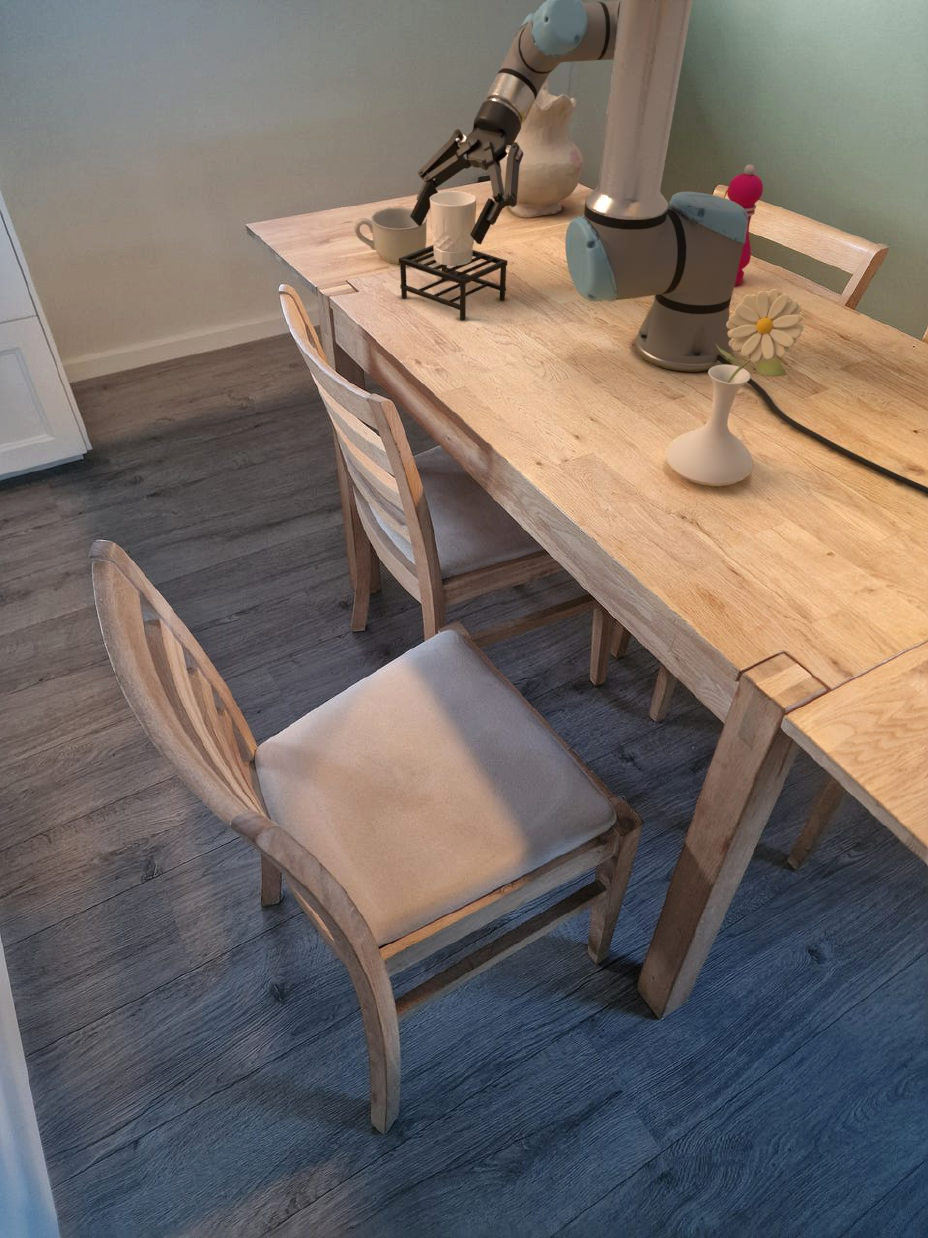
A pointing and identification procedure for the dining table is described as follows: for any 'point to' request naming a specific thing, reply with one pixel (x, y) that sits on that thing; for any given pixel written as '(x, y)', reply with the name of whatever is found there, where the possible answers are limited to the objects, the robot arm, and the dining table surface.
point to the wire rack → (453, 277)
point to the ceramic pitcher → (546, 156)
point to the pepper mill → (745, 207)
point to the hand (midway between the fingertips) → (444, 230)
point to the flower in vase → (737, 388)
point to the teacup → (393, 233)
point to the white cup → (453, 227)
